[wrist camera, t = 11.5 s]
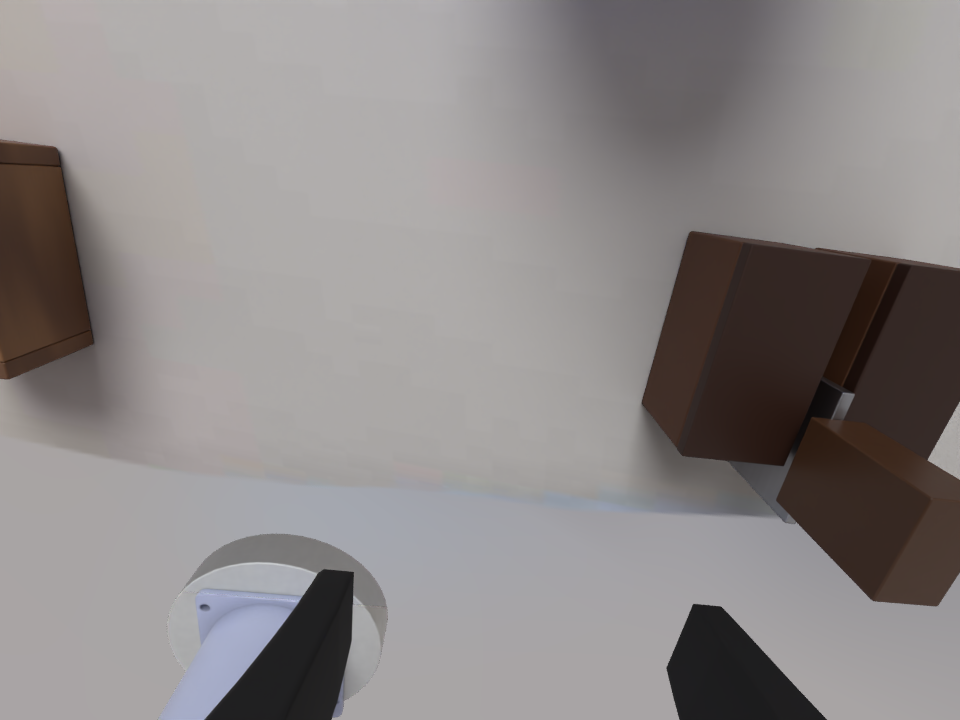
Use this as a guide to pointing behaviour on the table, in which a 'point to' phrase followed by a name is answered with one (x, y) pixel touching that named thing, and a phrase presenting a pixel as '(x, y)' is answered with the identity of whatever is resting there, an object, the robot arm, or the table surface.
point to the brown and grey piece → (866, 503)
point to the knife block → (37, 263)
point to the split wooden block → (802, 347)
